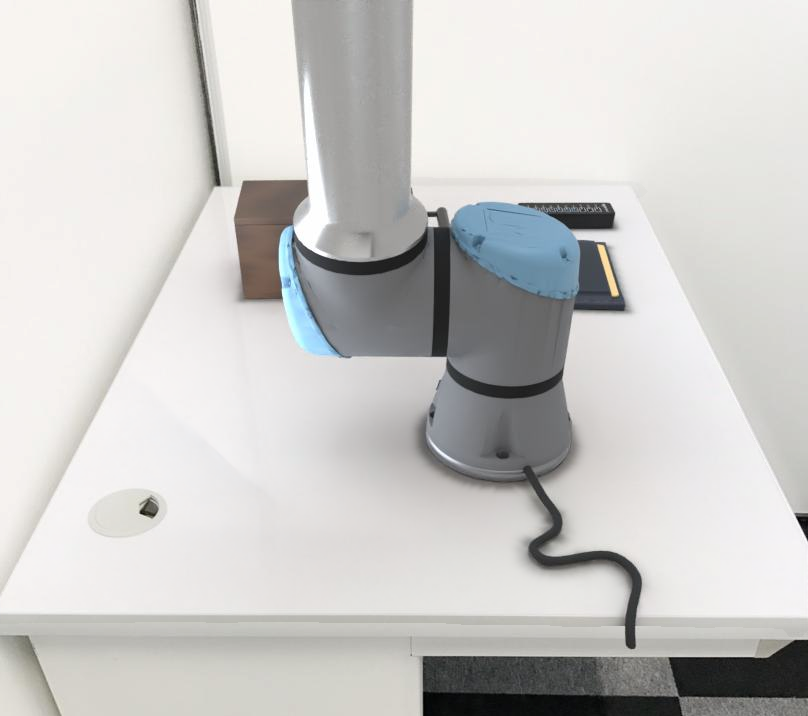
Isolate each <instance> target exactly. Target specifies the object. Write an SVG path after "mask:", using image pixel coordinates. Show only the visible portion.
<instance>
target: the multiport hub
mask: <svg viewBox="0 0 808 716" xmlns="http://www.w3.org/2000/svg"><path fill="white" fill-rule="evenodd" d="M517 205H520V206H525V207H528V208H532V209H535V210H538V211H540V212H543V213H545V214H547V215H549V216H551V217H553V218H555V219H557V220H558V221H560V222H561V223H563V224H564V225H565V226H566V227H568V228H569V229H613V228H614V224H615V218H616V211H615V209H614V208H613V206H612V203H610V202H518V203H517Z"/></svg>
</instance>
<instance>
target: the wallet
mask: <svg viewBox="0 0 808 716" xmlns="http://www.w3.org/2000/svg"><path fill="white" fill-rule="evenodd" d="M577 241H578V244H579V248H580V264H579V278H578V282H579V290H578V293H577V295H576V296H575V302H574V309H576V310H577V309H580V310H611V311H612V310H616V311H617V310H618V311H624V310H626V303H625V297H624V295H623V293H622V291H621V288H620V287H621V286H620V285H619V281H618V277H617V275H616V271H615V268H614V265H613V261H612V259H611V255H610V252H609V250H608V246H607V243H606V241H595V240H591V239H590V240H588V239H577ZM574 309H573V310H574Z"/></svg>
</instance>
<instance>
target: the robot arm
mask: <svg viewBox="0 0 808 716" xmlns="http://www.w3.org/2000/svg"><path fill="white" fill-rule="evenodd" d="M290 3H291V13H292V15H291V16H292V27H293V38H294V50H295V59H296V61H295V62H296V70H297V83H298V93H299V105H300V115H301V127H302V138H303V148H304V149H303V150H304V160H305V172H306V180H307V184H308V195H309V196H308V197H307V198H305V199H304V200H303V201H302V202H301V203H300V205H299V206H298V207H297V209H296V211H295V214H294V217H293V225H292V226H289V227H287V228H285V229H284V231H283V232H282V234H281V238H280V244H279V271H280V277H281V281H282V295H283V298H282V301H283V306H284V310H285V314H286V317H287V321H288V325H289V328H290V331H291V334H292V335H293V338H294V339H295V340H294V341H296V343H297V345H299V348H301V349H302V350H304V351H305V352H307V353H309V354H311V355H314V356H323V357H334V358H335V357H337V358H339V359H345V360H346V359H347V360H348V359H351V358H352V357H353V358H355V357H357V358H358V357H366V358H367V357H375V358H376V357H379V358H383V357H385V358H401V357H402V358H446V362H445V371H444V373H443V375H442V378H441V379H439V380H438V383H437V385H436V388H435V391H436V392H435V394H434V397H433V399H432V402H431V404H430V407H429V409H428V411H427V415H426V421H425V441H426V444H427V447H428V448H429V450H430V452H431V453H432V454H433V456H434V457H435V458H436V459H437V460H438V461H440V462H441V463H442V464H444V465H445V466H446V467H448V468H450V469H451V470H454V471H456V472H458V473H460V474H463V475H465V476H469V477H471V478H475V479H480V480H486V481H493V482H514V481H515V482H516V481H523V480H528V482H529V483H530V486H531V487H532V489H533V491H534V493H535V494H536V496H537V497H538V499H539V501H540V502H541V504H542V505H543V506H544V508H545V509H546V510H547V511H548V513H549V514H550V516H551V518H552V521H553V525H552V527H551V528H549V530H547V531H546V532H544V533H542V534H540V535H539V536H537V537H536V538H534V539H532V540H531V541H530V543H529V545H528V553H529V554H530V556H531V558H532V559H534V560H535V561H536V562H537V563H540V564H542V565H544V566H550V567H556V566H557V567H560V566H567V565H569V566H570V565H575V564H579V563H584V562H585V563H586V562H592V561H609V562H613V563H615V564H617V565H618V566H620V567H621V568H622V569H623V570H625V571H626V572H627V573H628V574H629V576H630V578H631V591H630V594H629V598H628V602H627V606H626V612H625V618H624V620H625V621H624V641H625V643H624V644H625V647H626V648H627V649H629V650H635V649H636V647H637V641H636V619H637V612H638V607H639V603H640V600H641V599H640V598H641V593H642V589H643V578H642V575H641V573H640V571H639V570H638V568H637V566H636V565H634V563H633V562H632V561H631V560H630V559H628V558H627V557H625V556H624V555H622V554H620V553H618V552H614V551H611V550H590V551H583V552H578V553H573V554H567V555H566V554H565V555H560V556H559V555H558V556H557V555H556V556H552V555H547V554H544V553H542V552H541V551H540V550H539V548H540V547H541V546H543V545H545V544H546V543H548V542H550V541H551V540H553V539H554V538H556V537H557V536H558V535H559V534H560V532H561V531H562V529H563V525H564V523H563V516H562V513H561V512H560V510H559V509H558V508H557V506H556V505H555V503H554V502H553V501H552V500H551V499H550V497H549V495H547V493H546V491H545V489H544V487H543V486H542V483H541V482H540V481H539V479H538V477H539V476H542V475H544V474H546V473H548V472H550V471H552V470H554V469H555V468H557V467H558V466H559V465H560V464H561V463H562V462H563V461H564V460H565V459H566V457H567V455H568V454H569V451H570V448H571V442H572V438H573V437H572V436H573V426H572V425H573V424H572V423H573V422H572V418H571V414H570V412H569V409H568V402H567V397H566V392H565V385H564V380H563V378H564V370H565V365H566V359H567V352H568V347H569V340H570V334H571V326H572V322H573V320H572V319H573V314H574V302H575V296H576V295H577V293H578V290H579V282H578V278H579V264H580V248H579V244H578V241H577V240H578V238H576V235H575V234H574V233H573V231H572V230H571V228H568V227H566V226H565V225H564V224H563V223H561V222H560V221H558V220H557V219H555V218H553V217H551V216H549V215H547V214H545V213H543V212H540V211H538V210H535V209H532V208H528V207H525V206H520V205H518V204H516V203H509V202H501V201H480V202H476V204H466V205H464V206H462V207H460V208H459V209H457V211H456V212H454V214H453V217H452V219H451V220H450V226H451V227H438V226H429V217H428V215H427V209H426V207H425V205H424V204H423V203H422V201H420V200H419V198H418V197H417V196H415V195H414V194H413V195H412V194H411V187H412V148H413V147H412V145H413V144H412V141H413V139H412V138H413V73H414V72H413V69H414V65H413V64H414V63H413V61H414V0H290Z"/></svg>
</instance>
